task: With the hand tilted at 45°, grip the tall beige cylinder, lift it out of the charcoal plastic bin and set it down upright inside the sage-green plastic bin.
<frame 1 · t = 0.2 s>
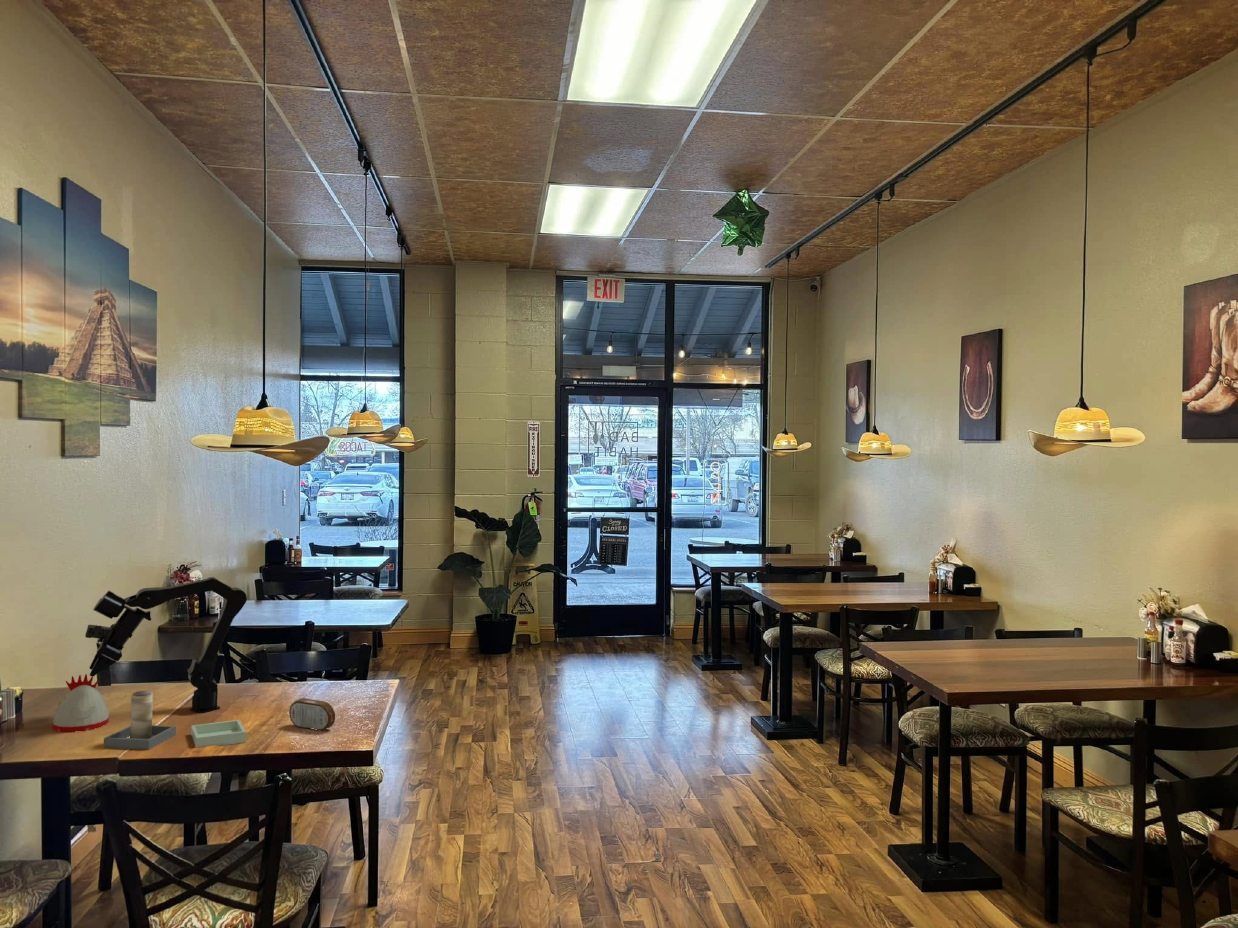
hand: (90, 672, 248), 15 cm above the table, tool tilted 35°, fingers open, 9 cm apart
tin: (311, 729, 249), on the table
grey and red dome: (81, 725, 245), on the table
beige cylinder: (140, 740, 231), resting on charcoal bin
sage bin: (218, 739, 236), on the table
charcoal bin: (140, 742, 231), on the table
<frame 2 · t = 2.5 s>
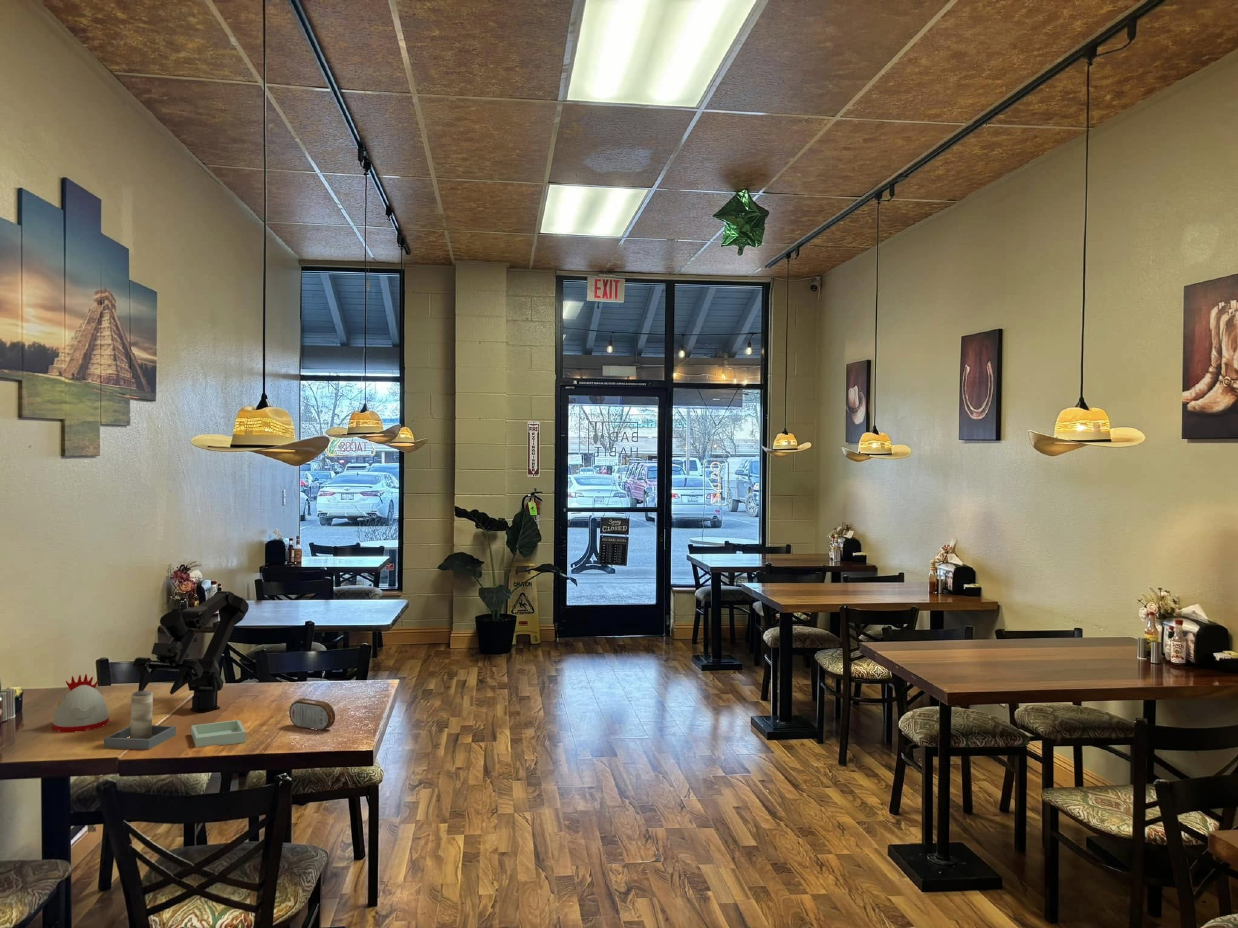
hand: (155, 693, 237), 12 cm above the table, tool tilted 45°, fingers open, 9 cm apart
nothing on the table moved.
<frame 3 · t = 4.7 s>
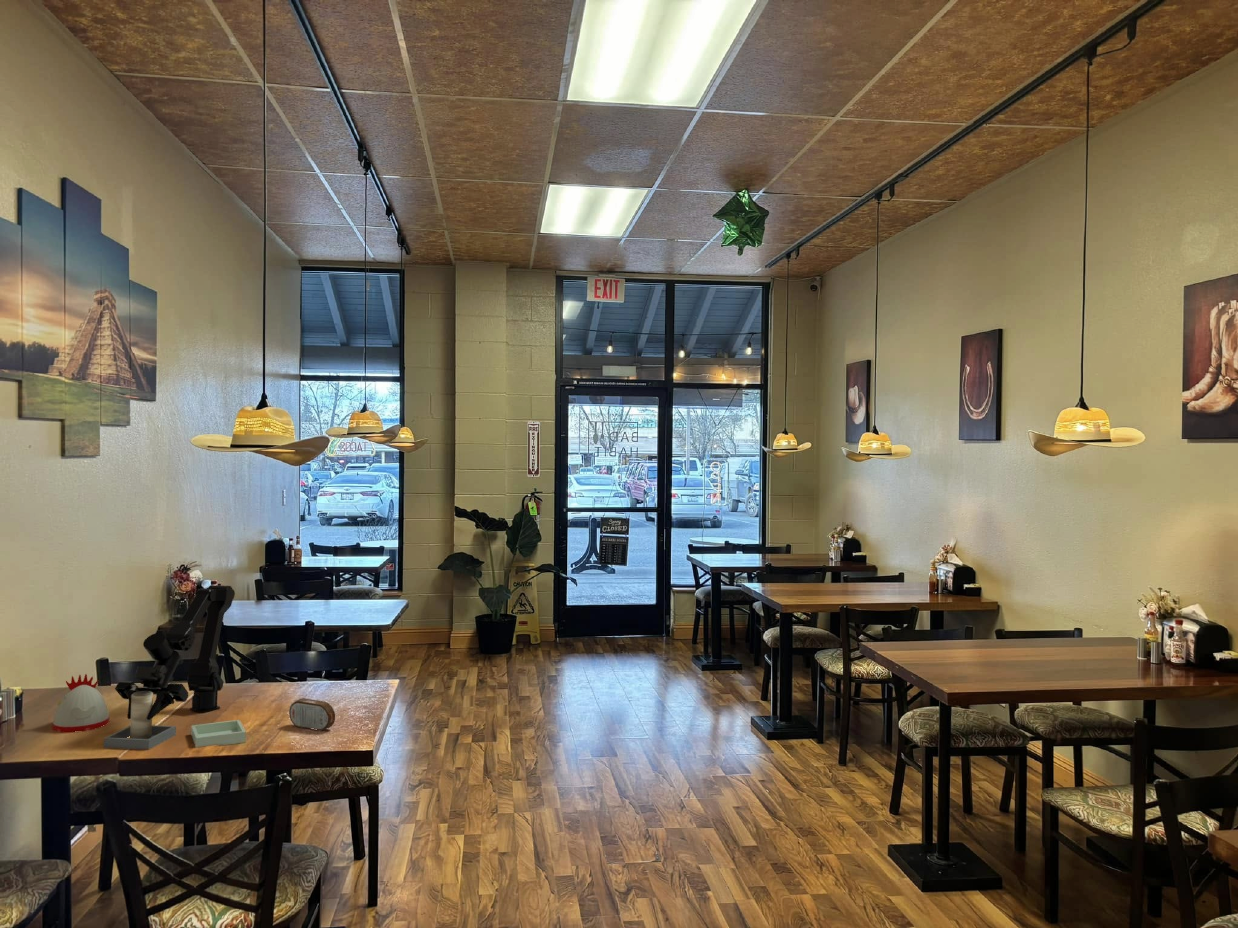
hand: (138, 718, 230), 7 cm above the table, tool tilted 45°, fingers closed on beige cylinder, 5 cm apart
beige cylinder: (140, 740, 231), resting on charcoal bin, touching gripper
everything else where it was.
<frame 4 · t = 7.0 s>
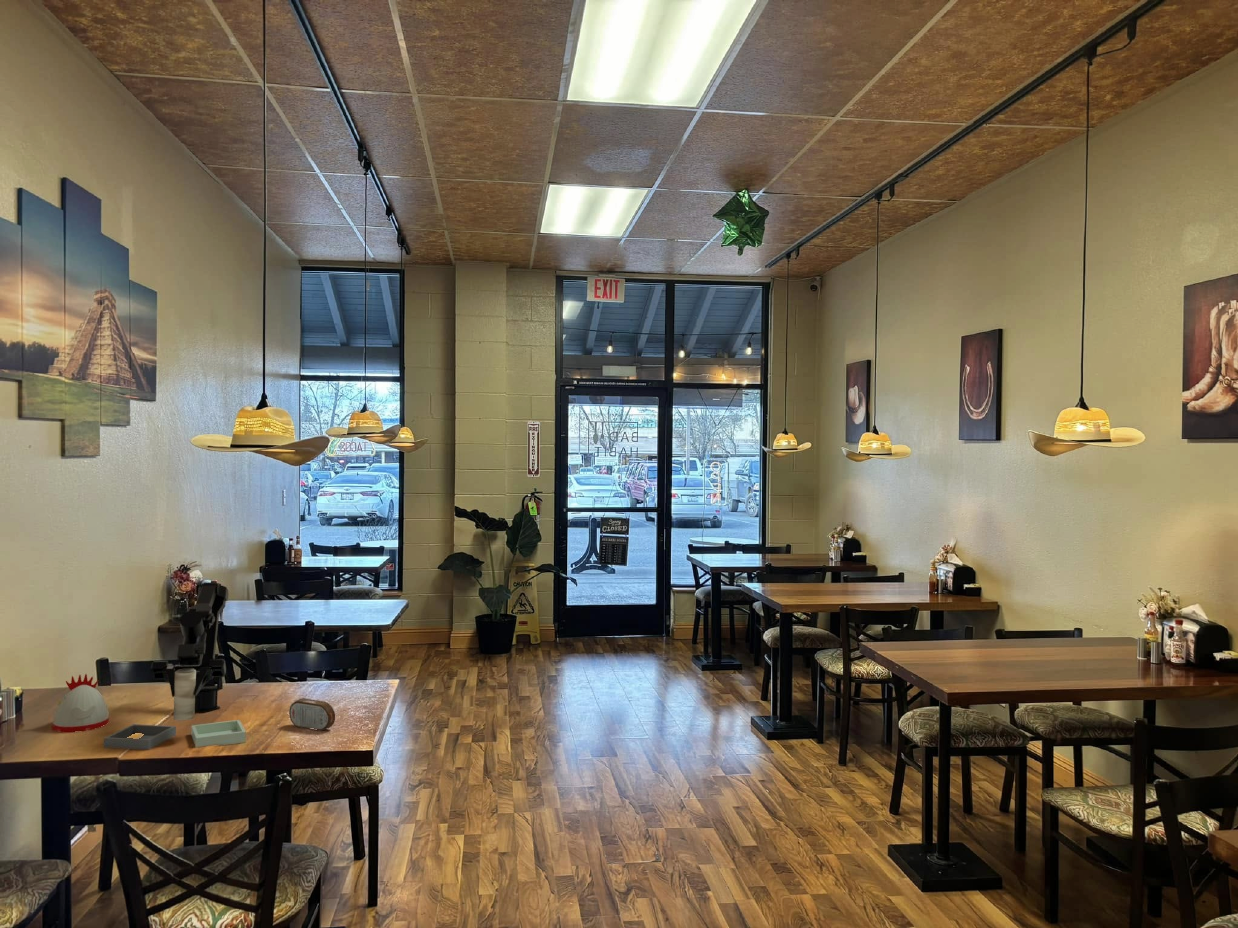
hand: (183, 695, 232), 13 cm above the table, tool tilted 45°, fingers closed on beige cylinder, 5 cm apart
beige cylinder: (183, 717, 233), point 7 cm above the table, touching gripper
everything else where it was.
when the fingers open (8 cm above the table, at t = 9.6 s): beige cylinder stays where it is, resting on sage bin.
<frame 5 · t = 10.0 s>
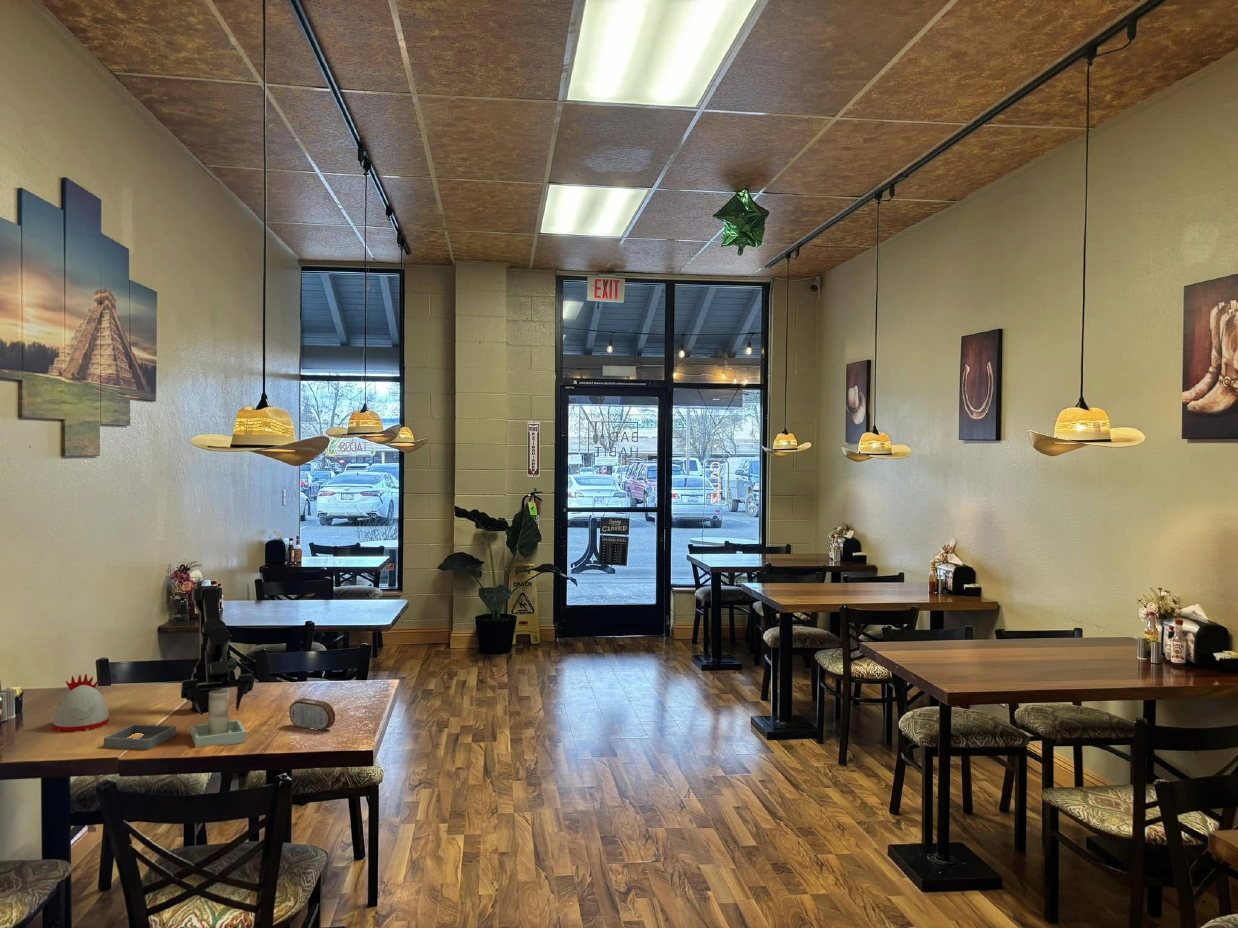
hand: (219, 711, 235), 8 cm above the table, tool tilted 45°, fingers open, 9 cm apart
beige cylinder: (218, 737, 236), point 1 cm above the table, touching sage bin
everything else where it was.
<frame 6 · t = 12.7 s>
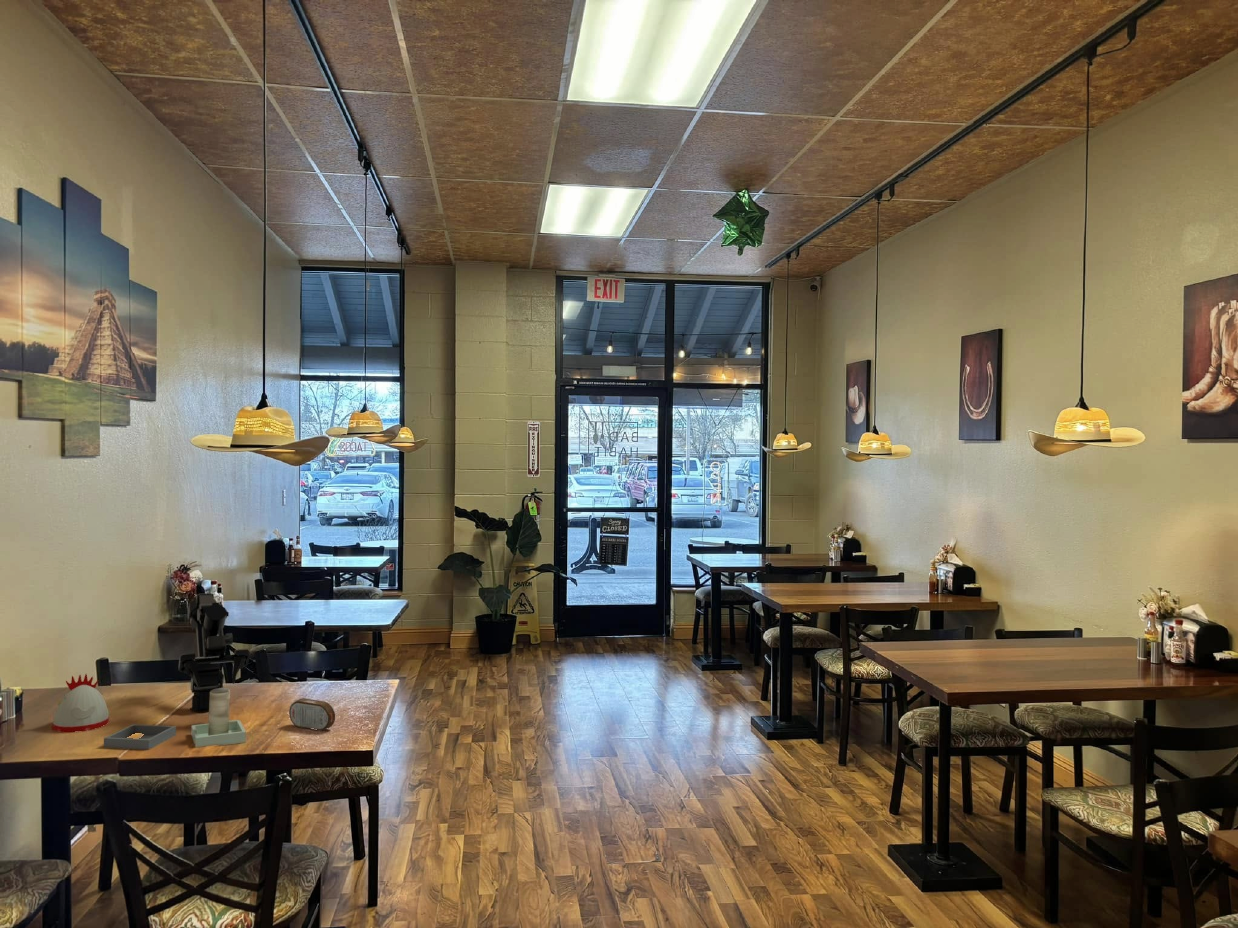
hand: (216, 684, 243), 14 cm above the table, tool tilted 45°, fingers open, 9 cm apart
nothing on the table moved.
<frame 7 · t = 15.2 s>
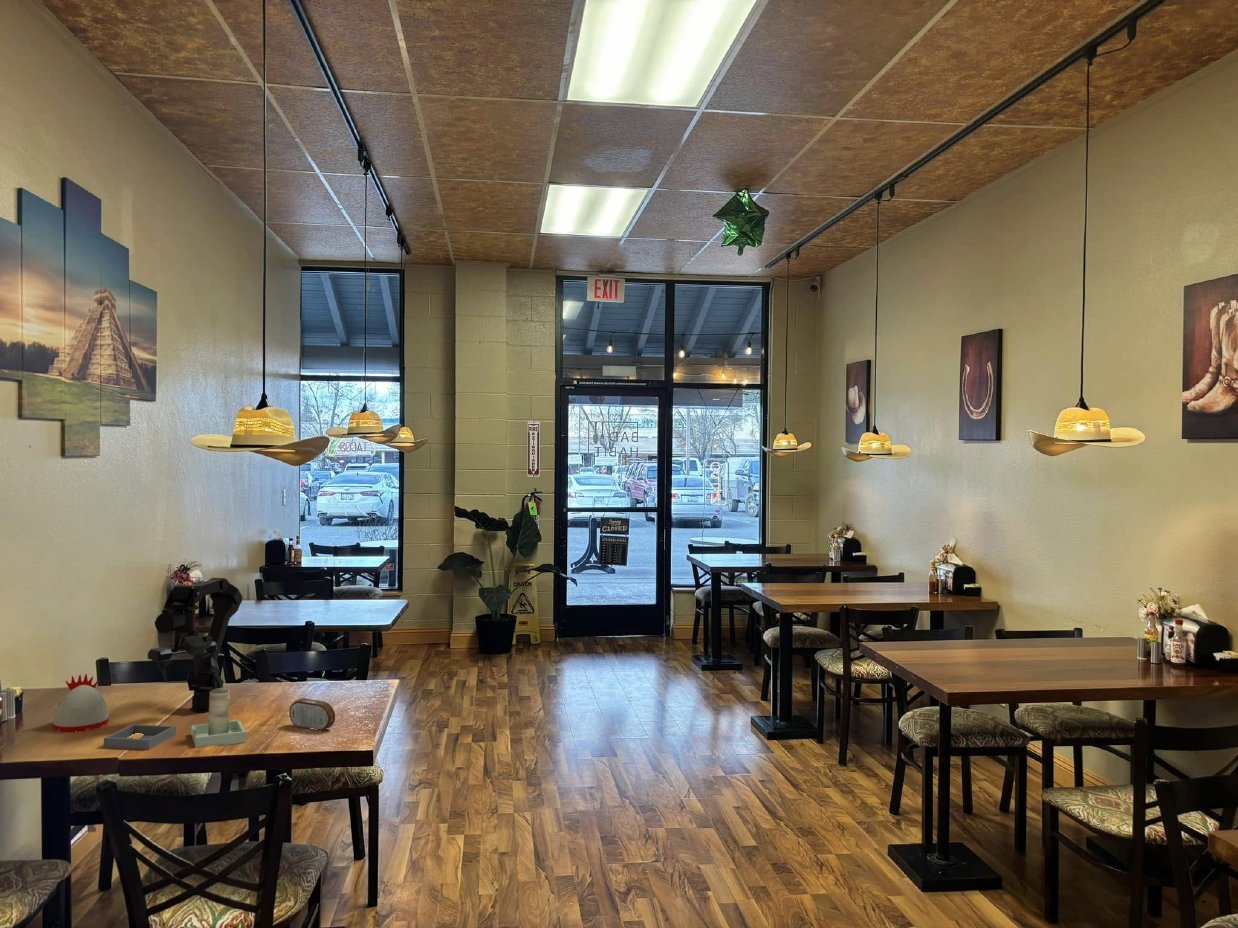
hand: (182, 678, 251), 13 cm above the table, tool pointing down, fingers open, 9 cm apart
nothing on the table moved.
at the end: beige cylinder inside the target area on the sage bin (0.1 cm from its centre), point 0.5 cm above the sage bin's base; beige cylinder tilted 0°; the gripper is holding nothing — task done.
